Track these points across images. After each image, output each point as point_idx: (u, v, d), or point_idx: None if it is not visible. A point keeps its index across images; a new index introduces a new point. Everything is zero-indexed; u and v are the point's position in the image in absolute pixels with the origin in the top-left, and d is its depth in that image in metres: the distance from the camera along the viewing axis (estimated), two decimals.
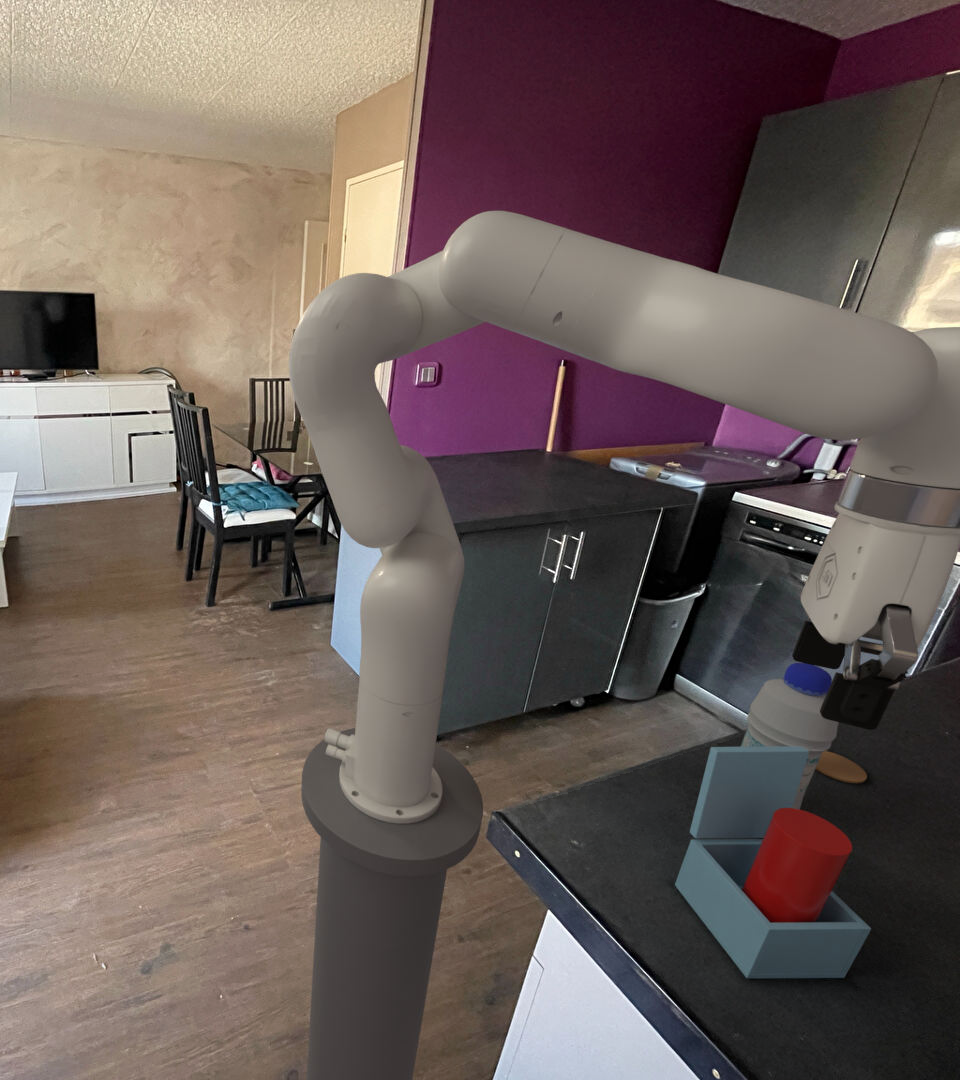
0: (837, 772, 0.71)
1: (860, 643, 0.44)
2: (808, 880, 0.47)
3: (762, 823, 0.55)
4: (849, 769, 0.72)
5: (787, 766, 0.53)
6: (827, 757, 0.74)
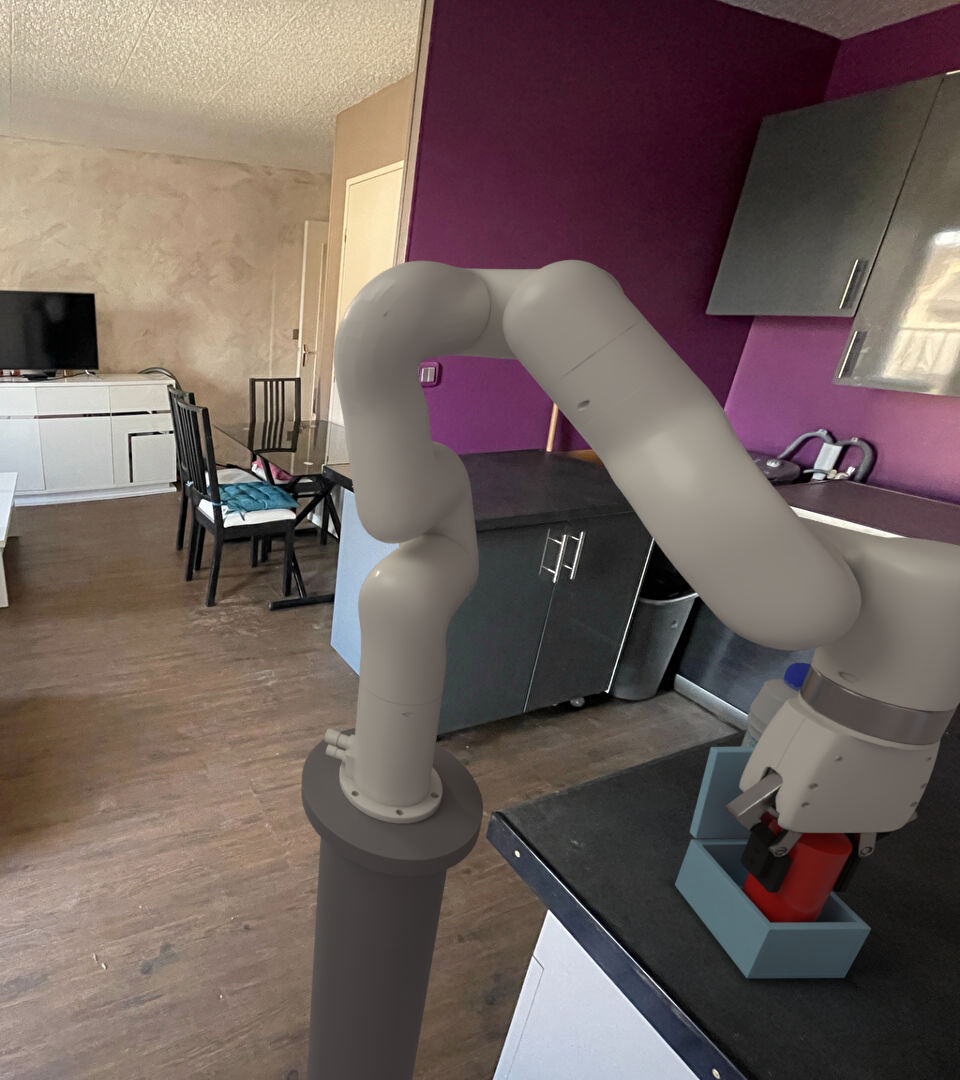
0: None
1: None
2: (808, 880, 0.47)
3: None
4: None
5: None
6: None
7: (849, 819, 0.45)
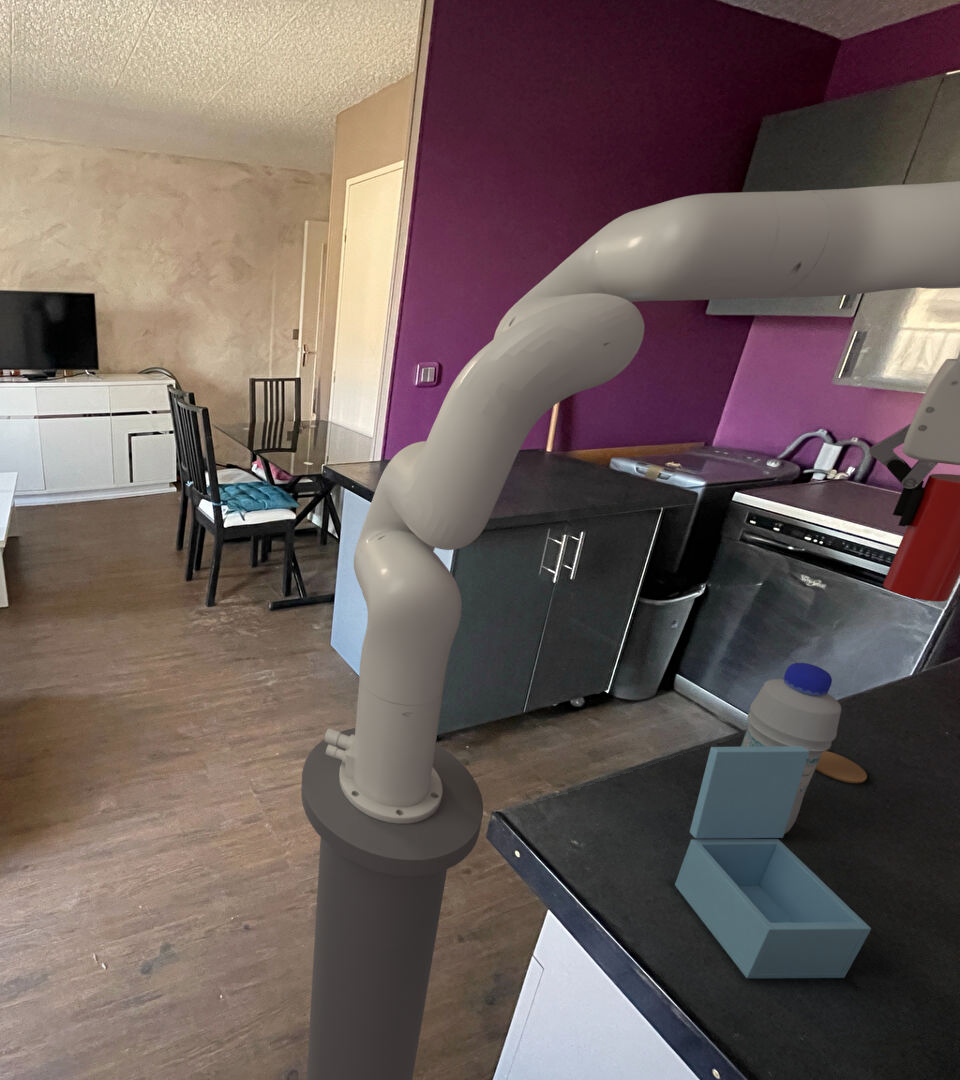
0: (837, 772, 0.71)
1: None
2: (934, 511, 0.59)
3: (762, 823, 0.55)
4: (849, 769, 0.72)
5: (787, 766, 0.53)
6: (827, 757, 0.74)
7: None
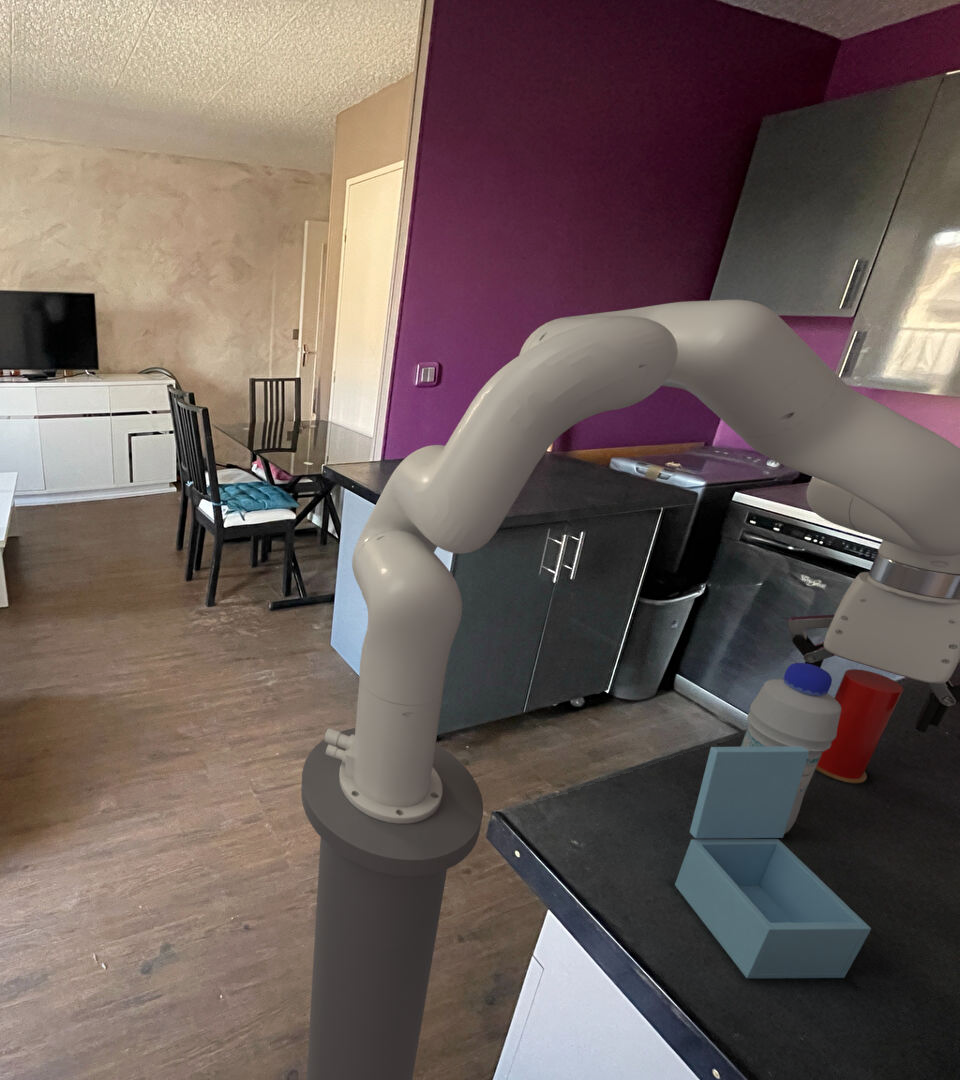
0: None
1: None
2: (848, 705, 0.69)
3: (762, 823, 0.55)
4: None
5: (787, 766, 0.53)
6: None
7: (879, 655, 0.66)
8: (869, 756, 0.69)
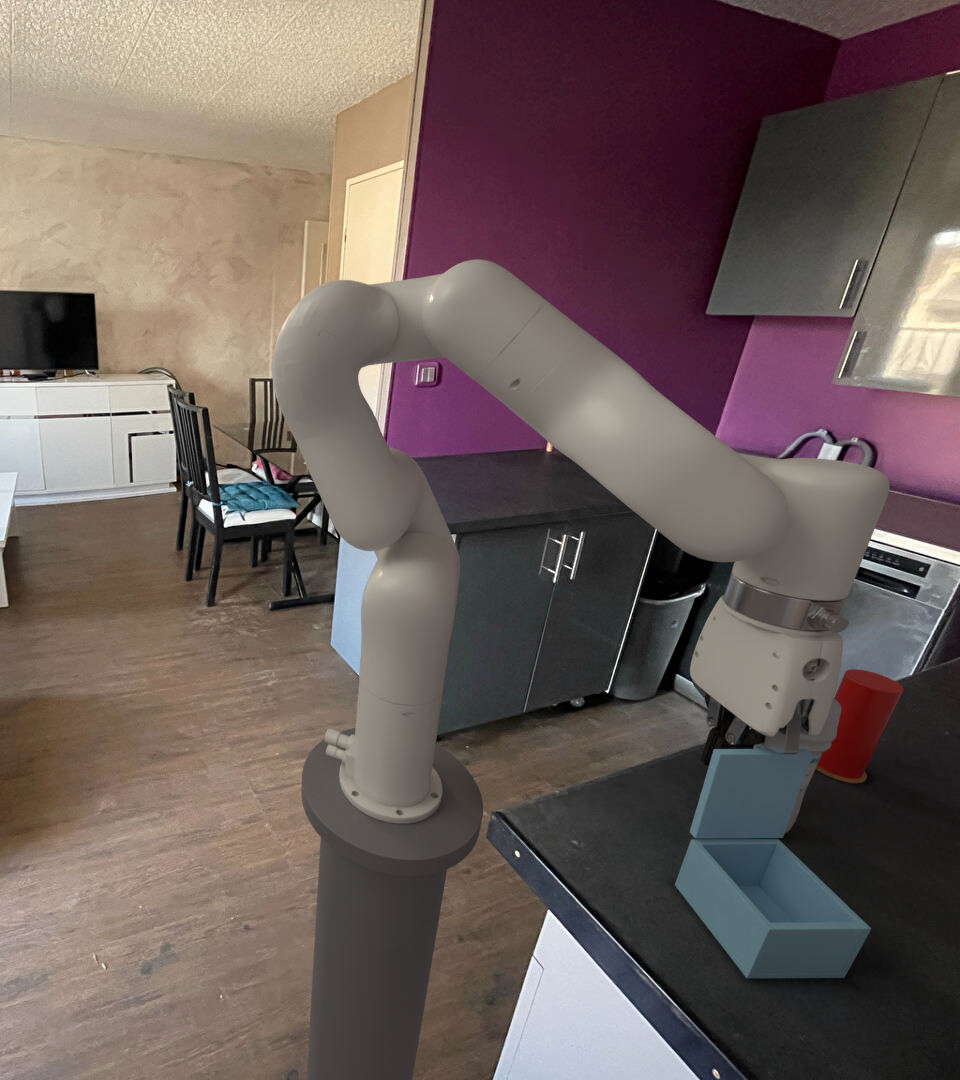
0: None
1: None
2: (848, 705, 0.69)
3: (763, 824, 0.54)
4: None
5: (789, 768, 0.53)
6: None
7: (721, 687, 0.54)
8: (869, 756, 0.69)
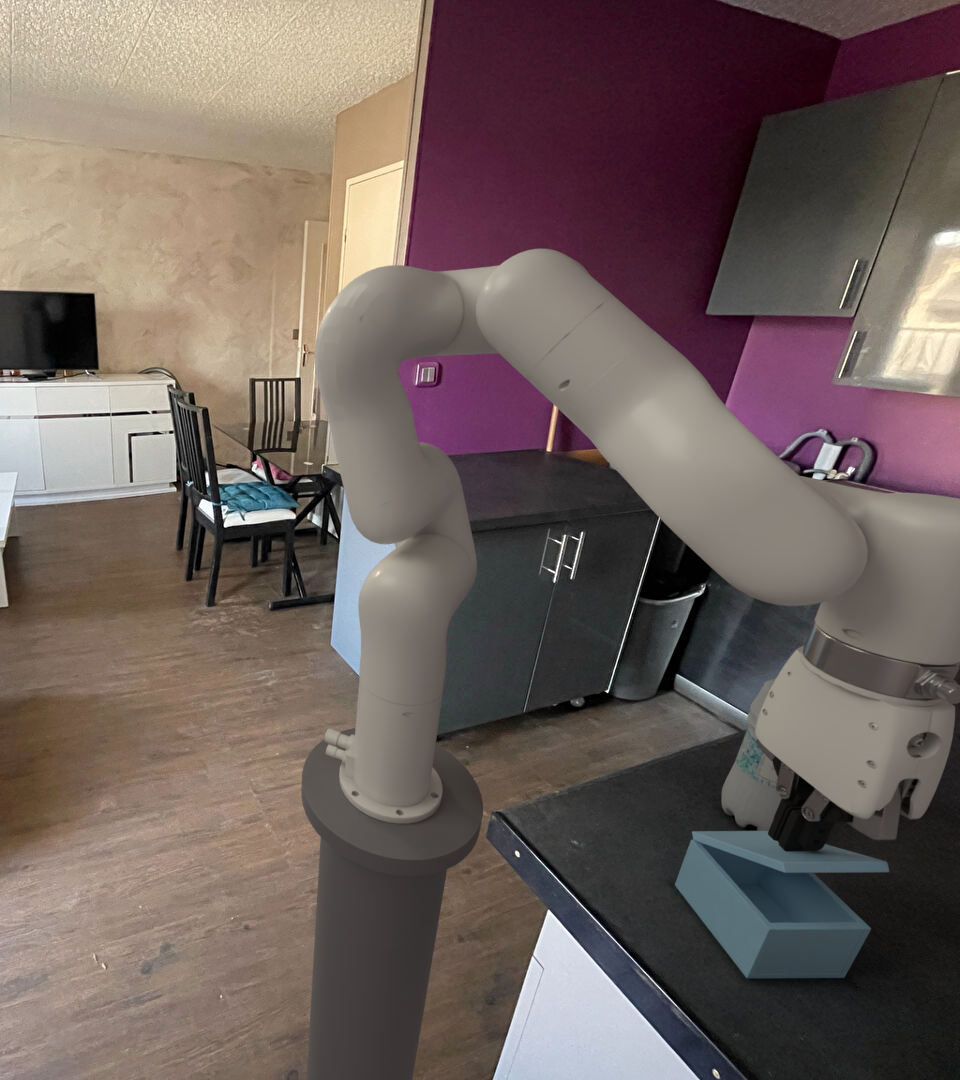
0: None
1: None
2: None
3: None
4: None
5: None
6: None
7: (797, 755, 0.47)
8: None
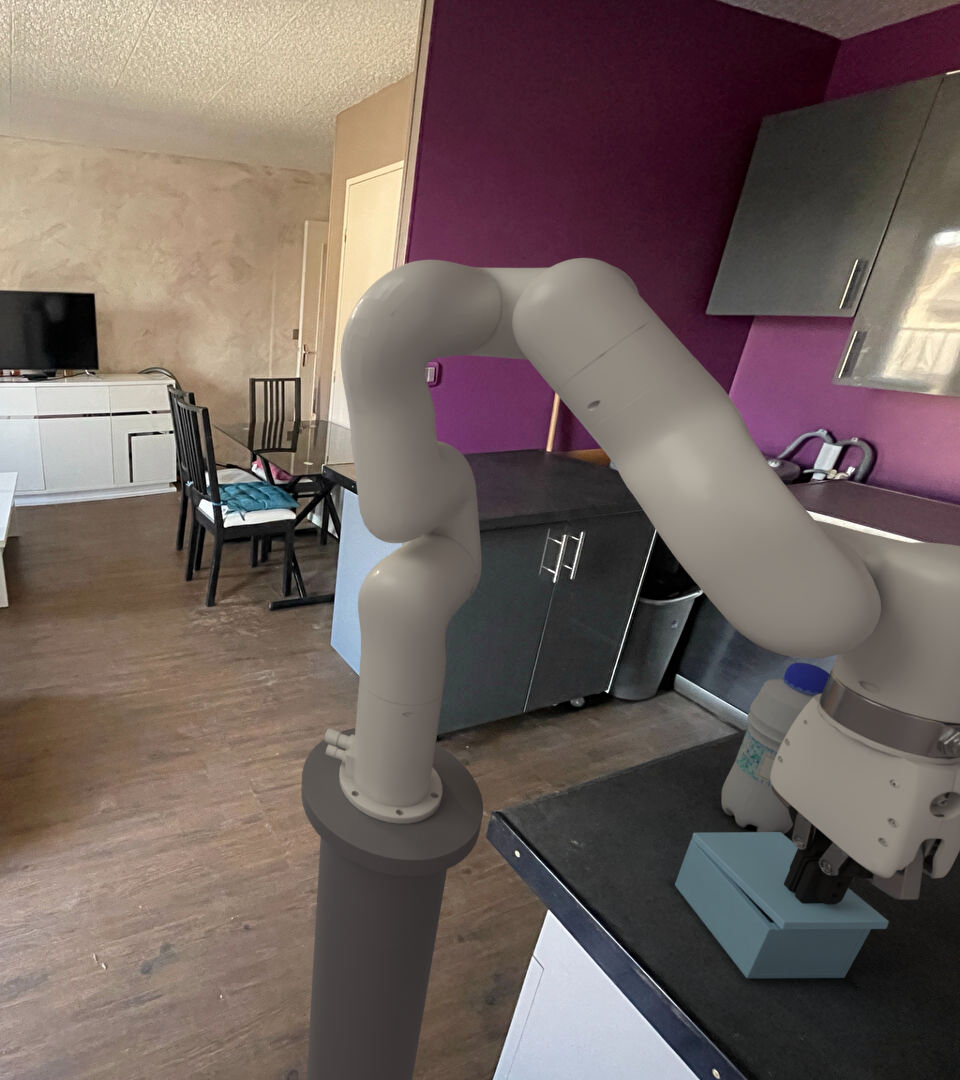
0: None
1: None
2: None
3: None
4: None
5: None
6: None
7: (814, 806, 0.46)
8: None
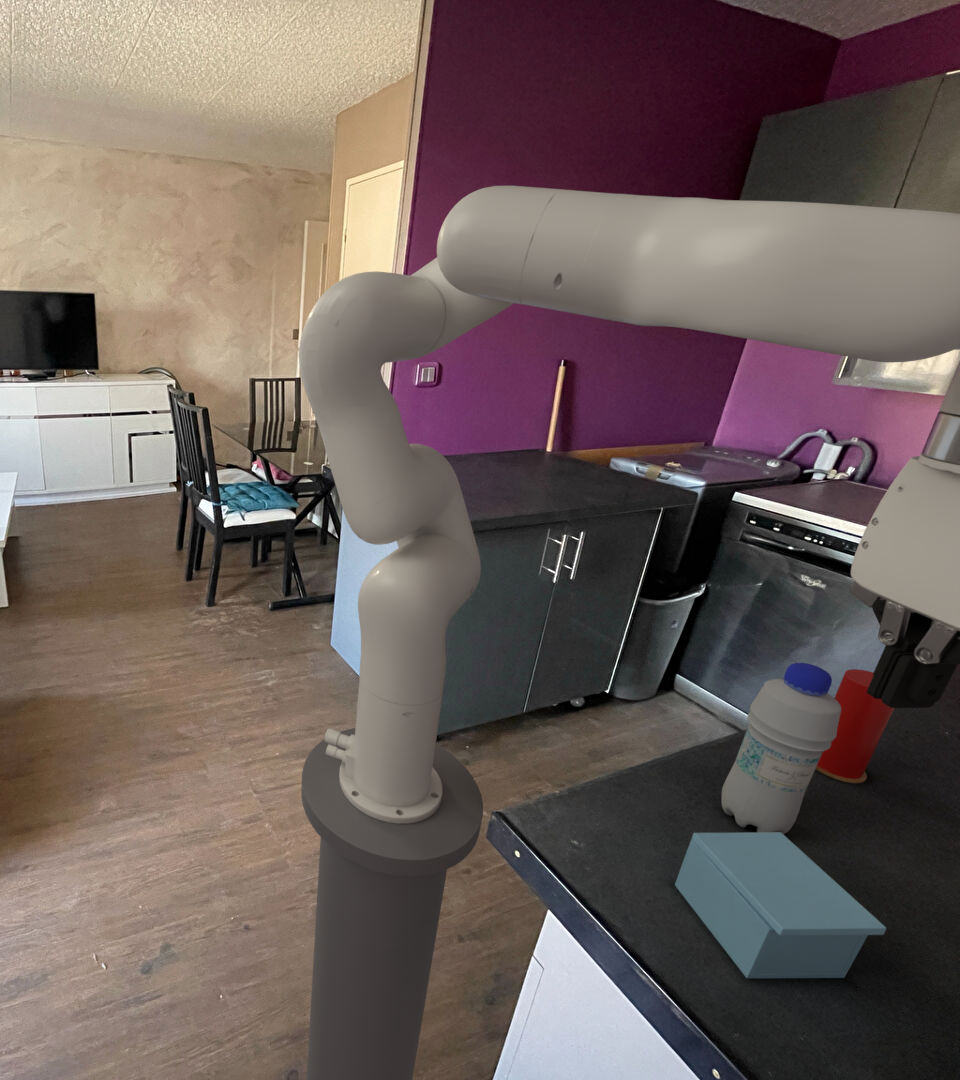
0: None
1: None
2: (848, 705, 0.69)
3: None
4: None
5: None
6: None
7: (911, 584, 0.39)
8: (869, 756, 0.69)
